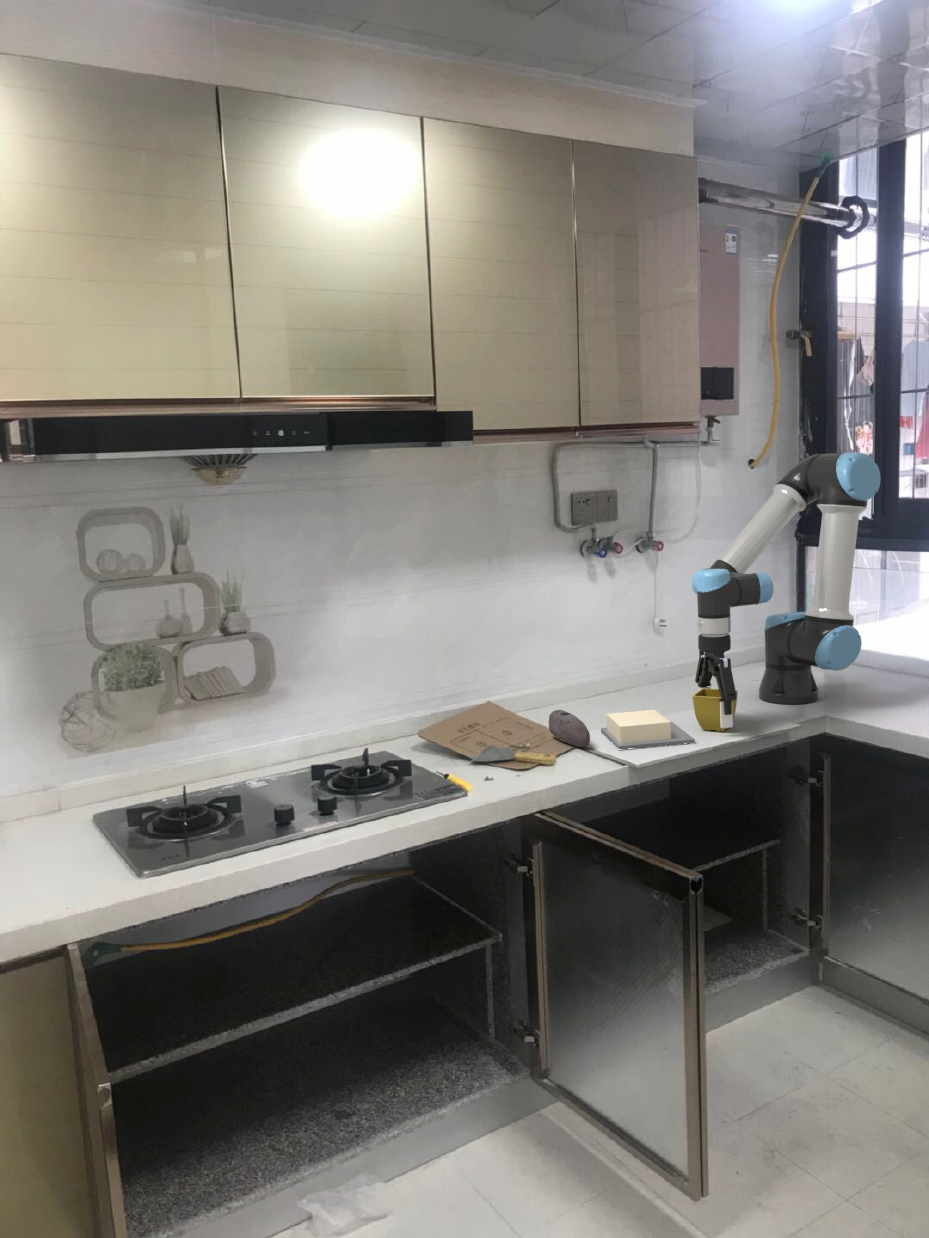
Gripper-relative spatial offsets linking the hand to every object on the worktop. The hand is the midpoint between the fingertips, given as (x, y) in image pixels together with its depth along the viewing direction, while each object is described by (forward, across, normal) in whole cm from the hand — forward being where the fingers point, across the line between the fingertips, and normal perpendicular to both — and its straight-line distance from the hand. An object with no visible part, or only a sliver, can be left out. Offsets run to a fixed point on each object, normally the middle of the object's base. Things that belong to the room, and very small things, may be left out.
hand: (715, 720), depth 231 cm
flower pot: (+2, 0, 0) cm, 2 cm away
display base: (+2, +2, -18) cm, 18 cm away
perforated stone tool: (+2, +1, -36) cm, 36 cm away
